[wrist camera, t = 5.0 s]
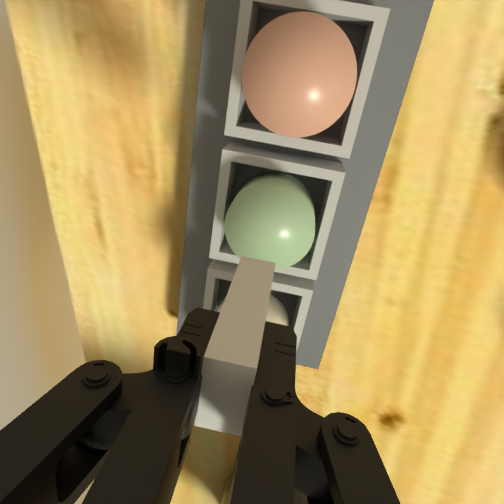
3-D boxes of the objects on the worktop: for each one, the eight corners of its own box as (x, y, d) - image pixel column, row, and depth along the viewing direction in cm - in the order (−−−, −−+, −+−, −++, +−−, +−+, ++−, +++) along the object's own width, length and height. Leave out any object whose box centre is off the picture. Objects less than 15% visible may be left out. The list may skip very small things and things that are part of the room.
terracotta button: (336, 136, 21) (339, 146, 18) (244, 119, 21) (234, 126, 19) (362, 29, 19) (371, 22, 16) (259, 12, 19) (251, 1, 16)
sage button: (304, 254, 26) (304, 278, 23) (229, 239, 26) (219, 260, 23) (323, 180, 23) (325, 195, 20) (240, 164, 24) (230, 177, 21)
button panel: (317, 352, 33) (318, 392, 29) (183, 323, 34) (166, 357, 30) (426, -2, 21) (452, -19, 17) (218, -36, 22) (197, -60, 18)
